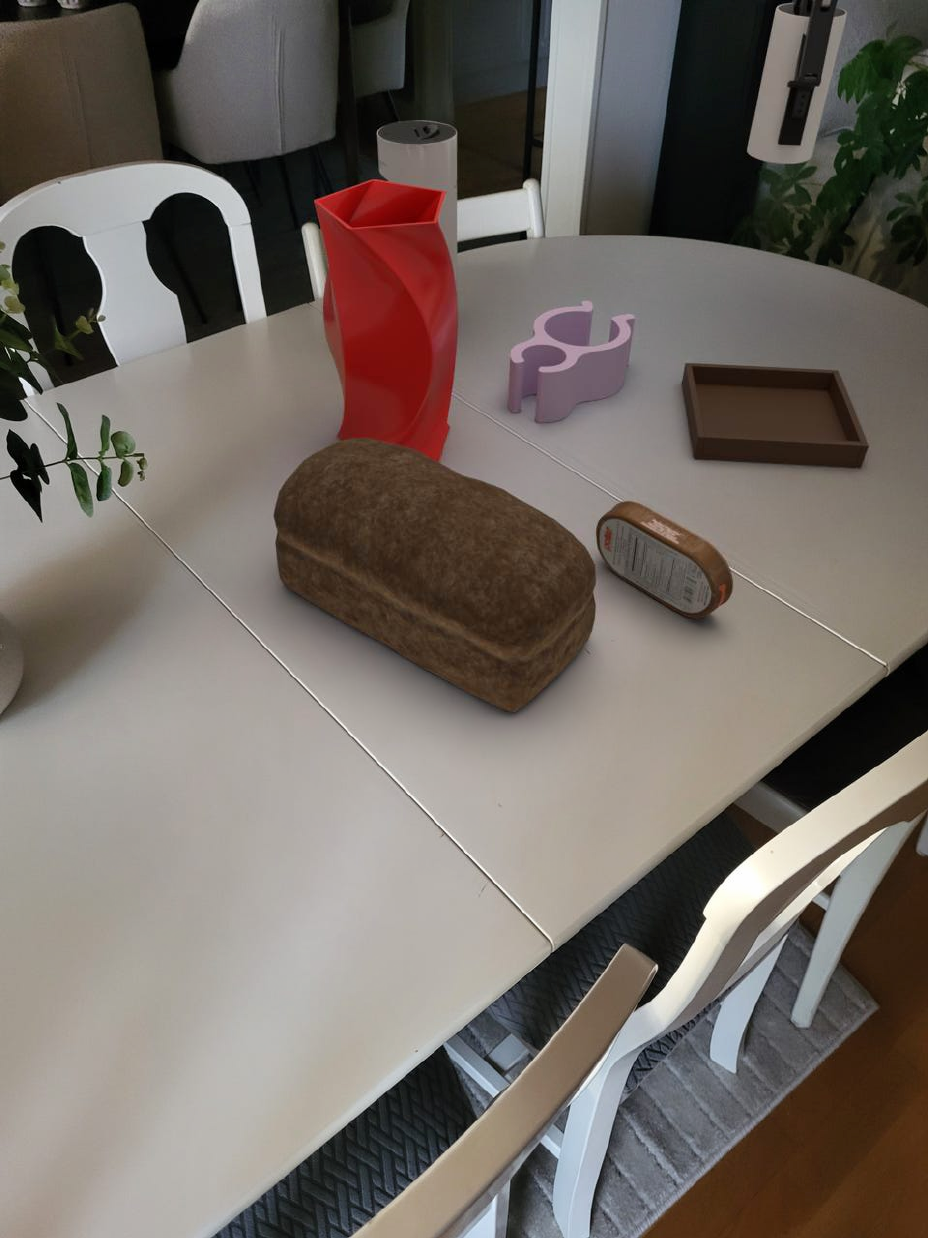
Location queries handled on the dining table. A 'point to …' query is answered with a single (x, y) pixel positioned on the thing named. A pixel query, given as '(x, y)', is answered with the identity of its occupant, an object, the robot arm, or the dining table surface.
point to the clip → (568, 362)
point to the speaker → (424, 167)
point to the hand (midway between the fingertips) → (784, 132)
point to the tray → (771, 415)
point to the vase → (390, 312)
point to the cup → (776, 91)
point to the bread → (436, 567)
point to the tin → (664, 559)
